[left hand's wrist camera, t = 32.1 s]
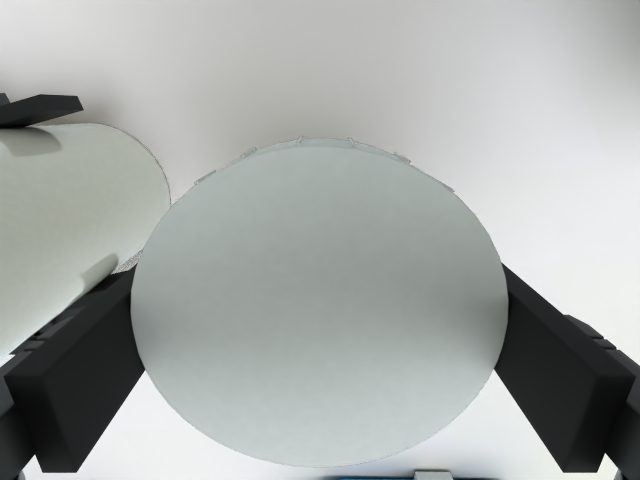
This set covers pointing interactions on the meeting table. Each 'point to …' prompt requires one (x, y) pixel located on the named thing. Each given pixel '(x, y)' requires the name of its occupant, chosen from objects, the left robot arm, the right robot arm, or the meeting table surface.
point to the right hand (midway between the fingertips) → (109, 198)
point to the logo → (421, 476)
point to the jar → (69, 217)
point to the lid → (319, 304)
